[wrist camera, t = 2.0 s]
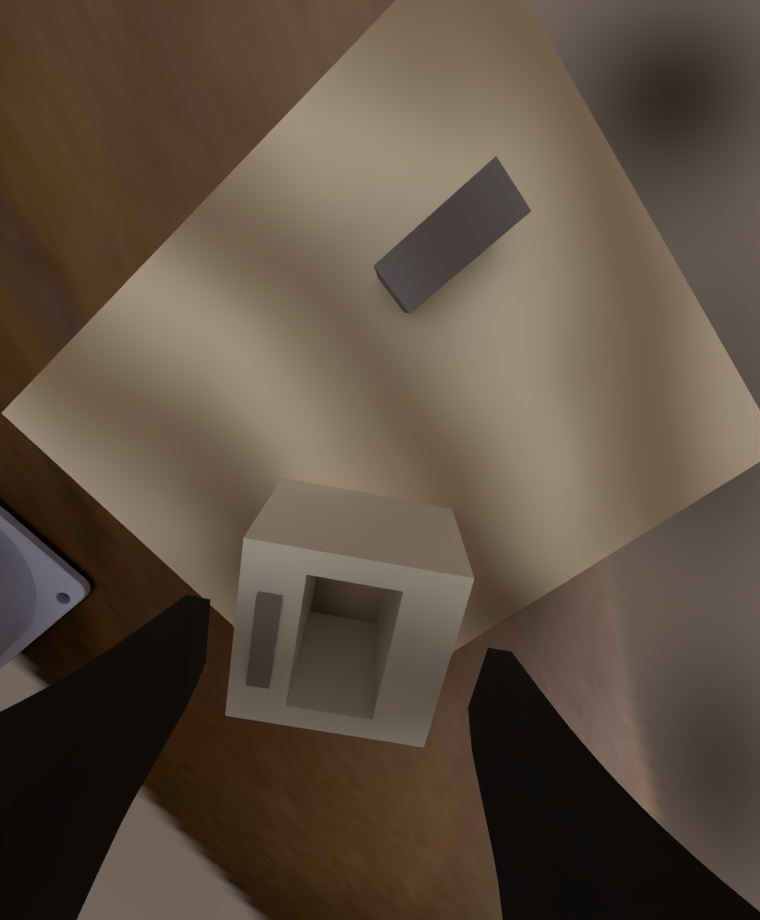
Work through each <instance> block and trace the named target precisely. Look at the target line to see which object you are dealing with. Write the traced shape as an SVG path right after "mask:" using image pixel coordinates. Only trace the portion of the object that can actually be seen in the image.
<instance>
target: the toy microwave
mask: <svg viewBox="0 0 760 920" xmlns="http://www.w3.org/2000/svg"><path fill="white" fill-rule="evenodd" d="M316 576H317V577H323V578H328V579H334V580H340V581H346V582H351V583H357V584H363V585H368V586H374V587H380V588H384V592H383V596H382V601H381V605H380V610H379V614H378V619H377V623H374V622H368V621H362V620H356V619H350V618H344V617H339V616H333V615H327V614H321V613H315V612H311V606H312V600H313V594H314V588H315V582H316ZM473 582H474V576H473V573H472V569H471V566H470V563H469V560H468V557H467V554H466V550H465V547H464V544H463V541H462V538H461V535H460V532H459V528H458V525H457V522H456V519H455V516H454V513H453V510H452V509H451V508H445V507H440V506H434V505H429V504H423V503H418V502H412V501H407V500H401V499H396V498H390V497H385V496H379V495H374V494H369V493H363V492H358V491H352V490H347V489H341V488H336V487H330V486H325V485H319V484H314V483H308V482H303V481H297V480H292V479H287V478H282V479H281V480H280V482H279V483H278V485H277V487H276V488H275V490H274V491H273V493H272V494H271V496H270V497H269V499H268V500H267V502H266V504H265V505H264V507H263V508H262V510H261V511H260V513H259V514H258V516H257V518H256V519H255V521H254V522H253V524H252V525H251V527H250V528H249V530H248V531H247V533H246V535H245V536H244V538H243V547H242V557H241V567H240V576H239V586H238V596H237V606H236V616H235V625H234V635H233V645H232V655H231V664H230V674H229V684H228V694H227V704H226V713H225V716H231V717H237V718H243V719H249V720H256V721H262V722H268V723H274V724H281V725H287V726H293V727H299V728H305V729H312V730H318V731H324V732H330V733H337V734H343V735H349V736H355V737H361V738H368V739H374V740H380V741H386V742H393V743H399V744H405V745H411V746H418V747H424V746H425V742H426V739H427V736H428V732H429V729H430V726H431V722H432V719H433V716H434V712H435V709H436V706H437V702H438V699H439V696H440V692H441V689H442V686H443V682H444V679H445V676H446V672H447V669H448V666H449V662H450V659H451V655H452V652H453V649H454V645H455V642H456V639H457V635H458V632H459V629H460V625H461V622H462V619H463V615H464V612H465V609H466V605H467V602H468V599H469V595H470V592H471V589H472V585H473Z"/></svg>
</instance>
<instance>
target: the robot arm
mask: <svg viewBox="0 0 760 920" xmlns="http://www.w3.org/2000/svg"><path fill="white" fill-rule="evenodd" d="M89 592H90V585H89V582H88V581H87V580H86V579H85V578H84V577H83V576H81V575H80V574H79V573H78V572H77V571H76V570H74V569H73V568H72V567H71V566H70V565H69V564H68V563H66V562H65V561H64V560H63V559H62V558H61V557H59V556H58V555H57V554H56V553H55V552H54V551H52V550H51V549H50V548H49V547H48V546H47V545H45V544H44V543H43V542H42V541H41V540H40V539H38V538H37V537H36V536H35V535H34V534H33V533H31V532H30V531H29V530H28V529H27V528H26V527H24V526H23V525H22V524H21V523H20V522H19V521H17V520H16V519H15V518H14V517H13V516H12V515H10V514H9V513H8V512H7V511H6V510H5V509H3V508H2V507H1V506H0V668H1V667H2V666H4V665H5V664H6V663H7V662H9V661H10V660H11V659H12V658H13V657H15V656H16V655H17V654H18V653H19V652H21V651H22V650H23V649H24V648H25V647H26V646H28V645H29V644H30V643H31V642H32V641H34V640H35V639H36V638H37V637H38V636H40V635H41V634H42V633H43V632H44V631H46V630H47V629H48V628H49V627H50V626H52V625H53V624H54V623H55V622H56V621H57V620H59V619H60V618H61V617H62V616H63V615H65V614H66V613H67V612H68V611H69V610H71V609H72V608H73V607H74V606H75V605H77V604H78V603H79V602H80V601H81V600H83V599H84V598H85V597H86V596H87V595H88V594H89ZM64 593H65V594H67V595H68V596H69V597H70V598H69V597H67V596H66V595H65V594H64ZM209 610H210V599H206V598H200V597H195V596H189V595H186V596H184V597H183V598H181V599H180V600H178V601H177V602H175V603H174V604H173V605H171V606H170V607H169V608H167V609H166V610H164V611H163V612H162V613H160V614H159V615H158V616H156V617H155V618H153V619H152V620H151V621H149V622H148V623H146V624H145V625H144V626H142V627H141V628H139V629H138V630H137V631H135V632H134V633H132V634H131V635H129V636H128V637H126V638H125V639H123V640H122V641H121V642H119V643H118V644H116V645H115V646H113V647H112V648H110V649H109V650H107V651H106V652H104V653H103V654H101V655H99V656H98V657H96V658H95V659H93V660H91V661H90V662H88V663H87V664H85V665H84V666H82V667H80V668H79V669H77V670H76V671H74V672H72V673H71V674H69V675H67V676H66V677H64V678H62V679H61V680H59V681H57V682H55V683H54V684H52V685H50V686H49V687H47V688H45V689H43V690H41V691H39V692H38V693H36V694H34V695H32V696H30V697H28V698H26V699H24V700H23V701H21V702H19V703H17V704H15V705H13V706H11V707H9V708H7V709H5V710H3V711H1V712H0V920H77V918H78V915H79V913H80V911H81V909H82V906H83V904H84V902H85V900H86V898H87V896H88V893H89V891H90V889H91V886H92V884H93V882H94V880H95V878H96V876H97V874H98V871H99V869H100V867H101V865H102V863H103V861H104V859H105V856H106V854H107V852H108V850H109V848H110V846H111V844H112V842H113V839H114V837H115V835H116V833H117V831H118V829H119V827H120V825H121V822H122V821H123V819H124V817H125V815H126V813H127V811H128V809H129V807H130V805H131V803H132V802H133V800H134V798H135V796H136V794H137V793H138V791H139V789H140V787H141V786H142V784H143V782H144V780H145V779H146V777H147V775H148V773H149V772H150V770H151V768H152V766H153V765H154V763H155V761H156V759H157V758H158V756H159V754H160V752H161V751H162V749H163V747H164V745H165V744H166V742H167V740H168V738H169V737H170V735H171V733H172V731H173V729H174V728H175V726H176V724H177V722H178V721H179V719H180V717H181V715H182V713H183V712H184V710H185V708H186V706H187V704H188V702H189V700H190V698H191V696H192V693H193V691H194V689H195V687H196V684H197V682H198V680H199V677H200V675H201V672H202V670H203V668H204V665H205V661H206V649H207V636H208V623H209ZM468 711H469V723H470V735H471V745H472V753H473V758H474V763H475V768H476V773H477V778H478V783H479V788H480V793H481V797H482V802H483V807H484V812H485V816H486V821H487V826H488V831H489V836H490V840H491V845H492V850H493V855H494V860H495V866H496V872H497V878H498V884H499V892H500V900H501V908H502V916H503V920H760V912H759V911H758V910H757V909H756V908H754V907H753V906H752V905H751V904H750V903H748V902H747V901H746V900H745V899H744V898H742V897H741V896H740V895H738V893H736V892H735V891H734V890H733V889H731V888H730V887H729V886H728V885H727V884H725V883H724V882H723V881H722V880H720V879H719V878H718V877H717V876H716V875H715V874H714V873H713V872H711V871H710V870H709V869H708V868H707V867H706V866H704V865H703V864H702V863H701V862H700V861H699V860H698V859H696V858H695V857H694V856H693V855H692V854H691V853H690V852H689V851H688V850H687V849H685V848H684V847H683V846H682V845H681V844H680V843H679V842H678V841H677V840H676V839H674V837H672V836H671V835H670V834H669V833H668V832H667V831H666V830H665V829H664V828H663V827H662V826H661V825H660V824H658V823H657V822H656V821H655V820H654V819H653V818H652V817H651V816H650V815H649V814H648V813H647V812H646V811H645V810H644V809H643V808H642V807H641V806H640V805H639V804H638V803H637V802H636V801H635V800H634V799H633V798H632V797H631V796H630V795H629V794H628V793H627V792H626V790H625V789H624V788H623V787H622V786H621V785H620V784H619V783H618V782H617V781H616V780H615V779H614V778H613V777H612V776H611V775H610V774H609V773H608V771H607V770H606V769H605V768H604V767H603V766H602V765H601V764H600V763H599V761H598V760H597V759H596V758H595V757H594V756H593V754H592V753H591V752H590V751H589V750H588V749H587V748H586V746H585V745H584V744H583V743H582V742H581V741H580V739H579V738H578V737H577V736H576V735H575V733H574V732H573V731H572V730H571V729H570V727H569V726H568V725H567V724H566V722H565V721H564V720H563V719H562V717H561V716H560V715H559V714H558V712H557V711H556V710H555V709H554V707H553V706H552V705H551V703H550V702H549V701H548V699H547V698H546V697H545V696H544V694H543V693H542V692H541V690H540V689H539V688H538V686H537V685H536V684H535V682H534V681H533V680H532V678H531V677H530V676H529V674H528V673H527V672H526V670H525V669H524V668H523V666H522V665H521V664H520V662H519V661H518V660H517V659H516V657H515V656H514V655H513V653H512V652H510V651H504V650H498V649H492V648H488V650H487V653H486V656H485V659H484V662H483V665H482V668H481V671H480V674H479V677H478V680H477V683H476V686H475V689H474V692H473V695H472V698H471V701H470V704H469V707H468Z"/></svg>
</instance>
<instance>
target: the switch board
mask: <svg viewBox="0 0 760 920" xmlns="http://www.w3.org/2000/svg"><path fill="white" fill-rule="evenodd" d="M2 414H3V415H4V416H5V417H6V418H7V419H9V420H10V421H11V422H12V423H13V424H14V425H15V426H16V427H17V428H18V429H19V430H20V431H22V432H23V433H24V434H25V435H26V436H27V437H28V438H29V439H30V440H31V441H32V442H34V443H35V444H36V445H37V446H38V447H39V448H40V449H41V450H42V451H43V452H44V453H46V454H47V455H48V456H49V457H50V458H51V459H52V460H53V461H54V462H55V463H56V464H58V465H59V466H60V467H61V468H62V469H63V470H64V471H65V472H66V473H67V474H68V475H70V476H71V477H72V478H73V479H74V480H75V481H76V482H77V483H78V484H79V485H80V486H82V487H83V488H84V489H85V490H86V491H87V492H88V493H89V494H90V495H91V496H92V497H93V498H95V499H96V500H97V501H98V502H99V503H100V504H101V505H102V506H103V507H104V508H105V509H107V510H108V511H109V512H110V513H111V514H112V515H113V516H114V517H115V518H116V519H117V520H119V521H120V522H121V523H122V524H123V525H124V526H125V527H126V528H127V529H128V530H129V531H131V532H132V533H133V534H134V535H135V536H136V537H137V538H138V539H139V540H140V541H141V542H143V543H144V544H145V545H146V546H147V547H148V548H149V549H150V550H151V551H152V552H153V553H155V554H156V555H157V556H158V557H159V558H160V559H161V560H162V561H163V562H164V563H165V564H166V565H168V566H169V567H170V568H171V569H172V570H173V571H174V572H175V573H176V574H177V575H178V576H180V577H181V578H182V579H183V580H184V581H185V582H186V583H187V584H188V585H189V586H190V587H192V588H193V589H194V590H195V591H196V592H197V593H198V594H199V595H200V596H201V597H202V598H206V599H210V605H211V606H212V607H213V608H214V609H216V610H217V611H218V612H219V613H220V614H221V615H222V616H223V617H224V618H225V619H226V620H227V621H229V622H230V623H231V624H232V625H233V626H234V625H235V616H236V606H237V596H238V586H239V576H240V567H241V557H242V547H243V538H244V536H245V535H246V533H247V531H248V530H249V528H250V527H251V525H252V524H253V522H254V521H255V519H256V518H257V516H258V514H259V513H260V511H261V510H262V508H263V507H264V505H265V504H266V502H267V500H268V499H269V497H270V496H271V494H272V493H273V491H274V490H275V488H276V487H277V485H278V483H279V482H280V480H281V479H282V478H287V479H292V480H297V481H303V482H308V483H314V484H319V485H325V486H330V487H336V488H341V489H347V490H352V491H358V492H363V493H369V494H374V495H379V496H385V497H390V498H396V499H401V500H407V501H412V502H418V503H423V504H429V505H434V506H440V507H445V508H451V509H452V510H453V513H454V516H455V519H456V522H457V525H458V528H459V532H460V535H461V538H462V541H463V544H464V547H465V550H466V554H467V557H468V560H469V563H470V566H471V569H472V573H473V576H474V582H473V585H472V589H471V592H470V595H469V599H468V602H467V605H466V609H465V612H464V615H463V619H462V622H461V625H460V629H459V632H458V635H457V639H456V642H455V645H454V649H453V652H454V651H455V650H457V649H459V648H460V647H462V646H463V645H465V644H467V643H468V642H470V641H472V640H473V639H475V638H476V637H478V636H480V635H481V634H483V633H484V632H486V631H488V630H489V629H491V628H492V627H494V626H496V625H497V624H499V623H501V622H502V621H504V620H505V619H507V618H509V617H510V616H512V615H513V614H515V613H517V612H518V611H520V610H521V609H523V608H525V607H526V606H528V605H530V604H531V603H533V602H534V601H536V600H538V599H539V598H541V597H542V596H544V595H546V594H547V593H549V592H550V591H552V590H554V589H555V588H557V587H559V586H560V585H562V584H563V583H565V582H567V581H568V580H570V579H571V578H573V577H575V576H576V575H578V574H579V573H581V572H583V571H584V570H586V569H588V568H589V567H591V566H592V565H594V564H596V563H597V562H599V561H600V560H602V559H604V558H605V557H607V556H608V555H610V554H612V553H613V552H615V551H616V550H618V549H620V548H621V547H623V546H624V545H626V544H628V543H629V542H631V541H633V540H634V539H636V538H637V537H639V536H640V535H642V534H644V533H645V532H647V531H649V530H650V529H652V528H654V527H655V526H657V525H658V524H660V523H662V522H663V521H665V520H666V519H668V518H670V517H671V516H673V515H674V514H676V513H678V512H679V511H681V510H683V509H684V508H686V507H687V506H689V505H690V504H692V503H694V502H695V501H697V500H699V499H700V498H702V497H703V496H705V495H707V494H708V493H710V492H712V491H713V490H715V489H716V488H718V487H720V486H721V485H723V484H724V483H726V482H728V481H729V480H731V479H733V478H734V477H736V476H737V475H739V474H741V473H742V472H744V471H745V470H747V469H749V468H750V467H752V466H753V465H755V464H757V463H758V462H760V410H759V408H758V406H757V405H756V403H755V401H754V400H753V398H752V396H751V394H750V392H749V390H748V389H747V387H746V385H745V384H744V382H743V380H742V378H741V376H740V375H739V373H738V371H737V369H736V368H735V366H734V365H733V363H732V361H731V359H730V357H729V355H728V353H727V352H726V350H725V348H724V346H723V345H722V343H721V341H720V339H719V338H718V336H717V334H716V332H715V331H714V329H713V327H712V325H711V324H710V322H709V320H708V318H707V317H706V315H705V313H704V311H703V309H702V308H701V306H700V304H699V302H698V301H697V299H696V297H695V295H694V294H693V292H692V290H691V288H690V287H689V285H688V283H687V281H686V280H685V278H684V276H683V274H682V272H681V271H680V269H679V267H678V265H677V264H676V262H675V260H674V258H673V257H672V255H671V253H670V251H669V250H668V248H667V246H666V245H665V243H664V241H663V239H662V238H661V235H660V234H659V232H658V230H657V229H656V227H655V225H654V223H653V221H652V220H651V218H650V217H649V214H648V213H647V211H646V209H645V207H644V206H643V204H642V202H641V200H640V199H639V197H638V195H637V193H636V191H635V190H634V188H633V186H632V184H631V183H630V181H629V179H628V177H627V176H626V174H625V172H624V170H623V169H622V167H621V165H620V163H619V161H618V160H617V158H616V156H615V155H614V153H613V151H612V149H611V147H610V146H609V144H608V142H607V140H606V139H605V137H604V135H603V133H602V132H601V130H600V128H599V126H598V125H597V123H596V121H595V120H594V117H593V116H592V114H591V112H590V110H589V109H588V107H587V105H586V103H585V102H584V100H583V98H582V96H581V95H580V93H579V91H578V89H577V88H576V86H575V84H574V82H573V81H572V79H571V77H570V75H569V74H568V72H567V70H566V68H565V66H564V65H563V63H562V61H561V59H560V58H559V56H558V54H557V52H556V51H555V49H554V47H553V45H552V44H551V42H550V40H549V38H548V37H547V35H546V33H545V31H544V29H543V28H542V26H541V24H540V22H539V21H538V19H537V17H536V15H535V14H534V12H533V10H532V8H531V6H530V5H529V3H528V1H527V0H396V1H395V2H394V3H393V4H392V5H391V6H390V7H389V8H388V9H387V10H386V11H385V12H384V13H383V14H382V15H381V16H380V17H379V18H378V19H377V20H376V21H375V23H374V24H373V25H372V26H371V27H370V28H369V29H368V30H367V31H366V32H365V33H364V34H363V35H362V36H361V37H360V38H359V39H358V40H357V41H356V42H355V43H354V45H353V46H352V47H351V48H350V49H349V50H348V51H347V52H346V53H345V54H344V55H343V56H342V57H341V58H340V59H339V60H338V61H337V62H336V63H335V64H334V65H333V66H332V68H331V69H330V70H329V71H328V72H327V73H326V74H325V75H324V76H323V77H322V78H321V79H320V80H319V81H318V82H317V83H316V84H315V85H314V86H313V87H312V88H311V90H310V91H309V92H308V93H307V94H306V95H305V96H304V97H303V98H302V99H301V100H300V101H299V102H298V103H297V104H296V105H295V106H294V107H293V108H292V109H291V110H290V111H289V113H288V114H287V115H286V116H285V117H284V118H283V119H282V120H281V121H280V122H279V123H278V124H277V125H276V126H275V127H274V128H273V129H272V130H271V131H270V132H269V133H268V135H267V136H266V137H265V138H264V139H263V140H262V141H261V142H260V143H259V144H258V145H257V146H256V147H255V148H254V149H253V150H252V151H251V152H250V153H249V154H248V155H247V157H246V158H245V159H244V160H243V161H242V162H241V163H240V164H239V165H238V166H237V167H236V168H235V169H234V170H233V171H232V172H231V173H230V174H229V175H228V176H227V177H226V178H225V180H224V181H223V182H222V183H221V184H220V185H219V186H218V187H217V188H216V189H215V190H214V191H213V192H212V193H211V194H210V195H209V196H208V197H207V198H206V199H205V200H204V202H203V203H202V204H201V205H200V206H199V207H198V208H197V209H196V210H195V211H194V212H193V213H192V214H191V215H190V216H189V217H188V218H187V219H186V220H185V221H184V222H183V223H182V225H181V226H180V227H179V228H178V229H177V230H176V231H175V232H174V233H173V234H172V235H171V236H170V237H169V238H168V239H167V240H166V241H165V242H164V243H163V244H162V245H161V247H160V248H159V249H158V250H157V251H156V252H155V253H154V254H153V255H152V256H151V257H150V258H149V259H148V260H147V261H146V262H145V263H144V264H143V265H142V266H141V267H140V269H139V270H138V271H137V272H136V273H135V274H134V275H133V276H132V277H131V278H130V279H129V280H128V281H127V282H126V283H125V284H124V285H123V286H122V287H121V288H120V289H119V290H118V292H117V293H116V294H115V295H114V296H113V297H112V298H111V299H110V300H109V301H108V302H107V303H106V304H105V305H104V306H103V307H102V308H101V309H100V310H99V311H98V312H97V314H96V315H95V316H94V317H93V318H92V319H91V320H90V321H89V322H88V323H87V324H86V325H85V326H84V327H83V328H82V329H81V330H80V331H79V332H78V333H77V334H76V336H75V337H74V338H73V339H72V340H71V341H70V342H69V343H68V344H67V345H66V346H65V347H64V348H63V349H62V350H61V351H60V352H59V353H58V354H57V355H56V356H55V357H54V359H53V360H52V361H51V362H50V363H49V364H48V365H47V366H46V367H45V368H44V369H43V370H42V371H41V372H40V373H39V374H38V375H37V376H36V377H35V378H34V379H33V381H32V382H31V383H30V384H29V385H28V386H27V387H26V388H25V389H24V390H23V391H22V392H21V393H20V394H19V395H18V396H17V397H16V398H15V399H14V400H13V401H12V402H11V404H10V405H9V406H8V407H7V408H6V409H5V410H4V411H3V412H2ZM383 592H384V588H380V587H374V586H368V585H363V584H357V583H351V582H346V581H340V580H334V579H328V578H323V577H317V576H316V582H315V588H314V594H313V600H312V606H311V612H315V613H321V614H327V615H333V616H339V617H344V618H350V619H356V620H362V621H368V622H374V623H377V619H378V614H379V610H380V605H381V601H382V596H383Z"/></svg>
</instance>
